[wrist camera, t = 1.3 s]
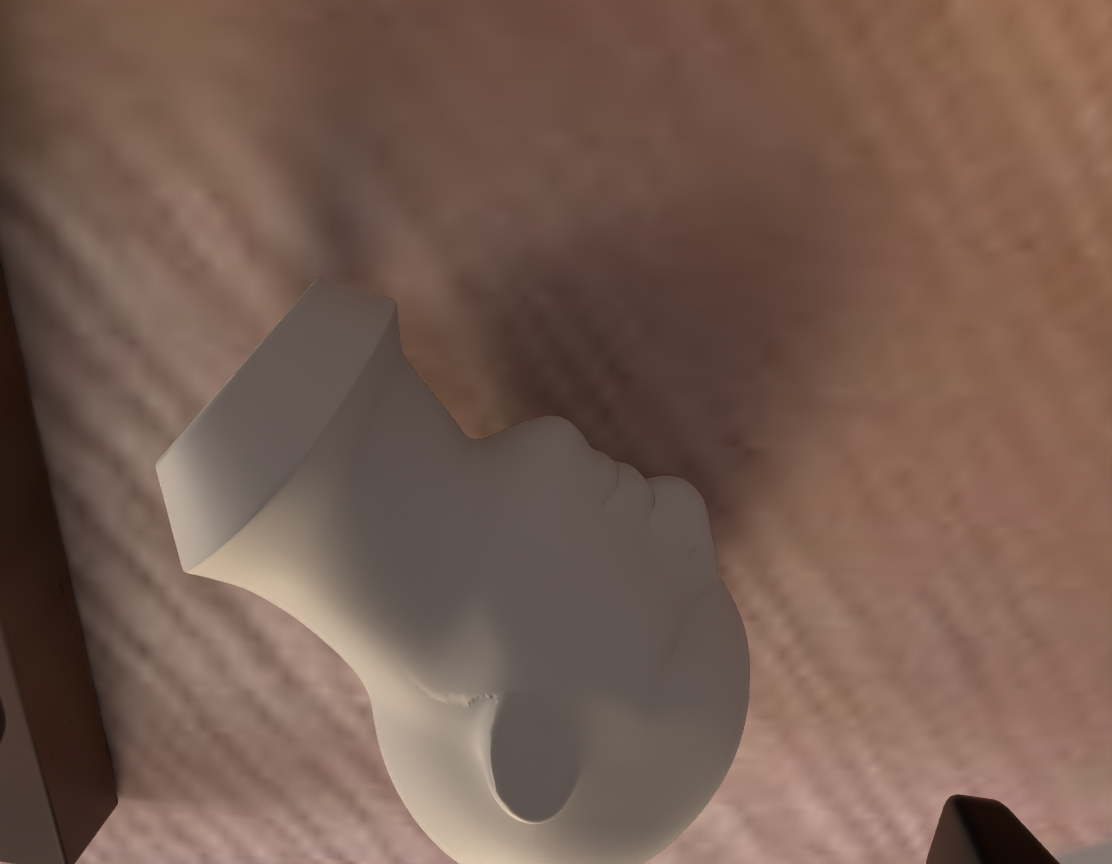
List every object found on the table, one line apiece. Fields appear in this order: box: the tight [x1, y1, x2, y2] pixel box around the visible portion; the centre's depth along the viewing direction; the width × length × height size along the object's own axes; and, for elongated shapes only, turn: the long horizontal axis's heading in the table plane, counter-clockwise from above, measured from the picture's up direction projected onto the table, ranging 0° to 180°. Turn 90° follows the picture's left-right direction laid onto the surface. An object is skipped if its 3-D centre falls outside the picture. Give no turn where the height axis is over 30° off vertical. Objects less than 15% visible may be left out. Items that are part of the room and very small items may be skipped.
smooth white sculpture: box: [155, 277, 750, 864], centre depth 11 cm, size 4×8×5 cm
